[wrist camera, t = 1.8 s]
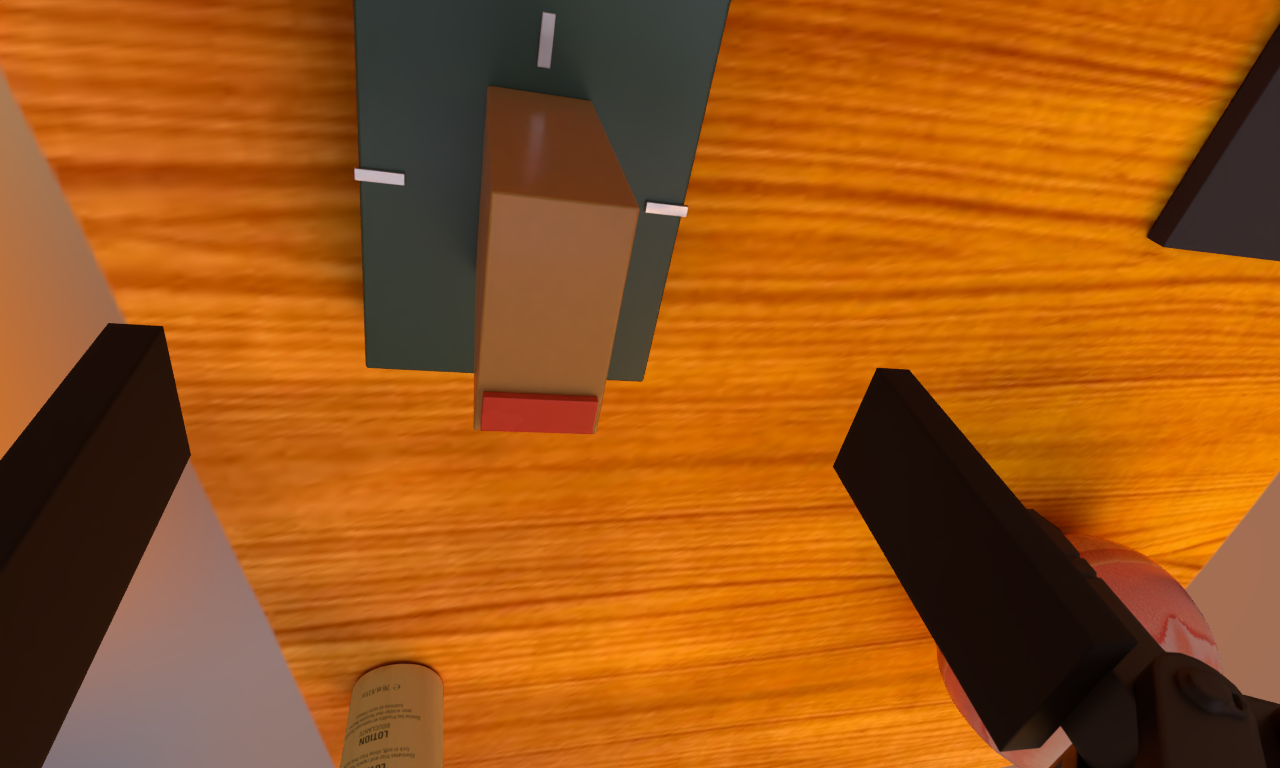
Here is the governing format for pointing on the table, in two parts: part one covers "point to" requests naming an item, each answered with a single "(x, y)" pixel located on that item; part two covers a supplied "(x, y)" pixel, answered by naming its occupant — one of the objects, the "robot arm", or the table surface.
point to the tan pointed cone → (395, 719)
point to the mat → (1234, 176)
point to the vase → (1147, 599)
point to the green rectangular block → (454, 137)
